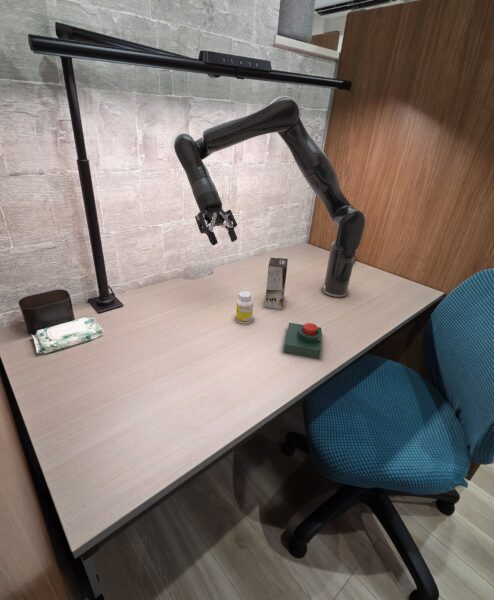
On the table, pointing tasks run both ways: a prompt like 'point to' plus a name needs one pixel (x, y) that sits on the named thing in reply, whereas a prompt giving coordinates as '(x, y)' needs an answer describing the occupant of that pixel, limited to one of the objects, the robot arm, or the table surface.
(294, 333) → the console
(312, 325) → the button
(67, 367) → the table surface
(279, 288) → the coffee box
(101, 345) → the table surface
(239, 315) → the supplement bottle
